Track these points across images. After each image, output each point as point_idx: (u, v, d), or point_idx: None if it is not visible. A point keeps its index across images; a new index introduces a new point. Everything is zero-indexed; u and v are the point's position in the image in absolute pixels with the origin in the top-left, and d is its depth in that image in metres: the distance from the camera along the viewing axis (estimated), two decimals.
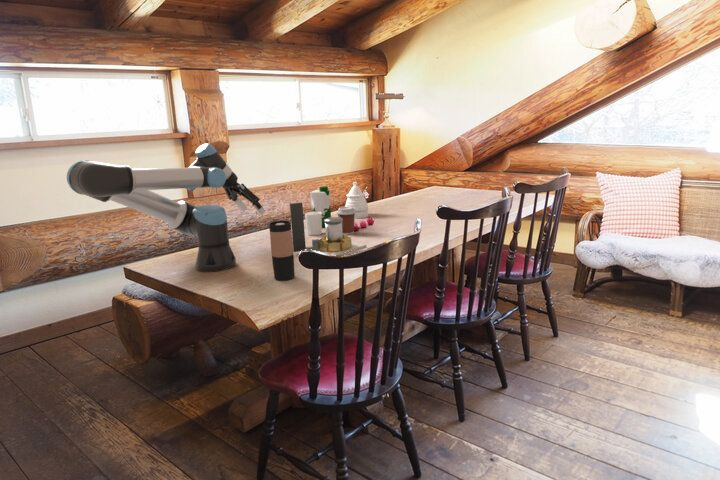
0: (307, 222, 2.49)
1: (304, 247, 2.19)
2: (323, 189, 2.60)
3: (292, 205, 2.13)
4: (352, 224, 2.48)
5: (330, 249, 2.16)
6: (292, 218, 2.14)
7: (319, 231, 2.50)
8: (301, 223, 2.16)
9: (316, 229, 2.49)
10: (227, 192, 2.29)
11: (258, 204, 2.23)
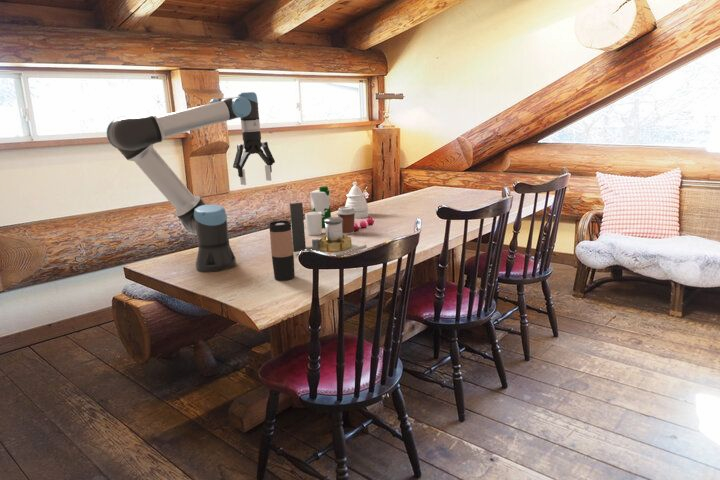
0: (307, 222, 2.49)
1: (304, 247, 2.19)
2: (323, 189, 2.60)
3: (292, 205, 2.13)
4: (352, 224, 2.48)
5: (330, 249, 2.16)
6: (292, 218, 2.14)
7: (319, 231, 2.50)
8: (301, 223, 2.16)
9: (316, 229, 2.49)
10: (264, 151, 2.27)
11: (239, 172, 2.18)
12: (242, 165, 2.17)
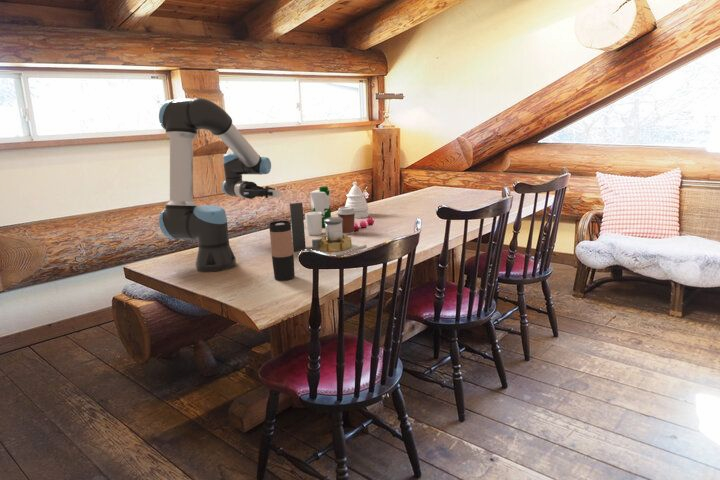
0: (307, 222, 2.49)
1: (304, 247, 2.19)
2: (323, 189, 2.60)
3: (292, 205, 2.13)
4: (352, 224, 2.48)
5: (330, 249, 2.16)
6: (292, 218, 2.14)
7: (319, 231, 2.50)
8: (301, 223, 2.16)
9: (316, 229, 2.49)
10: (253, 190, 2.25)
11: None
12: None
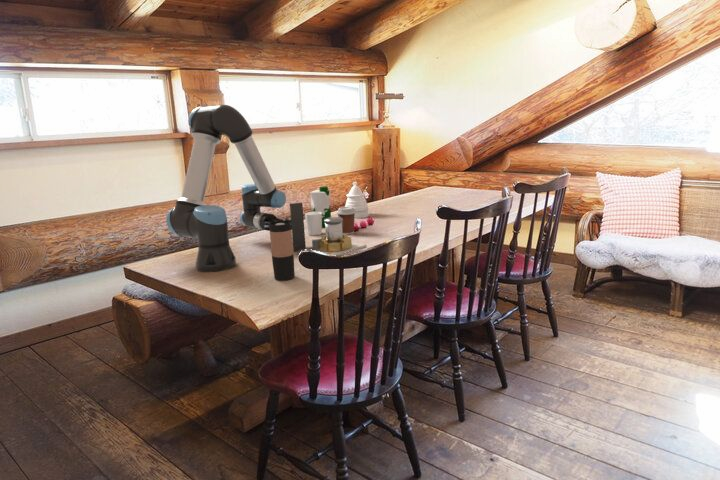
0: (307, 222, 2.49)
1: (305, 247, 2.19)
2: (323, 189, 2.60)
3: (292, 205, 2.13)
4: (352, 224, 2.48)
5: (330, 249, 2.16)
6: (292, 218, 2.14)
7: (319, 231, 2.50)
8: (301, 223, 2.16)
9: (316, 229, 2.49)
10: None
11: None
12: None
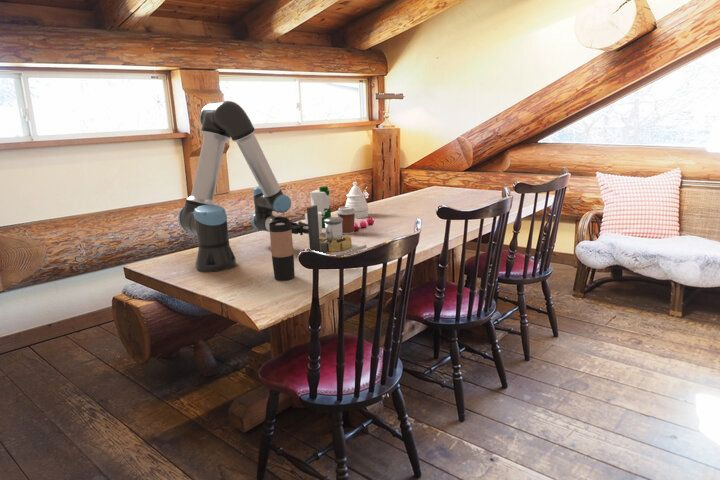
0: (307, 222, 2.49)
1: (319, 251, 2.11)
2: (323, 189, 2.60)
3: (311, 209, 2.04)
4: (352, 224, 2.48)
5: (343, 248, 2.17)
6: (311, 222, 2.05)
7: (319, 231, 2.50)
8: (317, 226, 2.08)
9: None
10: None
11: None
12: None
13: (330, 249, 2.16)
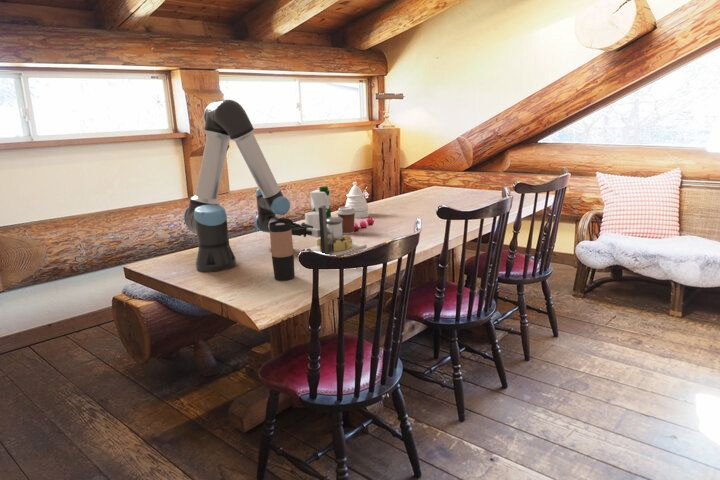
0: (307, 222, 2.49)
1: (328, 252, 2.10)
2: (323, 189, 2.60)
3: (323, 209, 2.02)
4: (352, 224, 2.48)
5: (347, 247, 2.18)
6: (323, 222, 2.03)
7: None
8: (326, 227, 2.07)
9: None
10: None
11: None
12: None
13: (335, 249, 2.16)
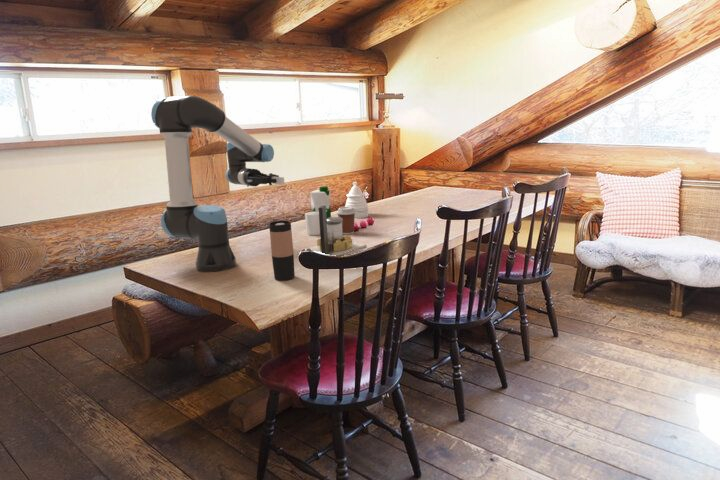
0: (307, 222, 2.49)
1: (328, 252, 2.10)
2: (323, 189, 2.60)
3: (323, 209, 2.02)
4: (352, 224, 2.48)
5: (347, 247, 2.18)
6: (323, 222, 2.03)
7: (319, 231, 2.50)
8: (326, 227, 2.07)
9: (316, 229, 2.49)
10: (256, 177, 2.21)
11: None
12: None
13: (335, 249, 2.16)
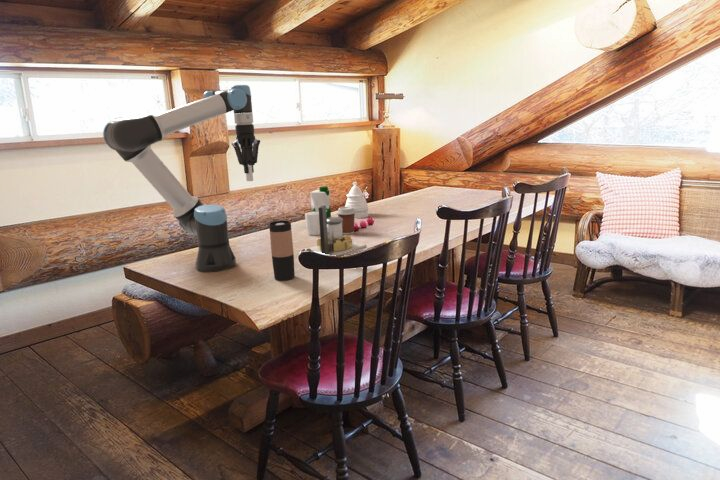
0: (307, 222, 2.49)
1: (328, 252, 2.10)
2: (323, 189, 2.60)
3: (323, 209, 2.02)
4: (352, 224, 2.48)
5: (347, 247, 2.18)
6: (323, 222, 2.03)
7: (319, 231, 2.50)
8: (326, 227, 2.07)
9: (316, 229, 2.49)
10: None
11: (245, 168, 2.22)
12: (246, 161, 2.21)
13: (335, 249, 2.16)
